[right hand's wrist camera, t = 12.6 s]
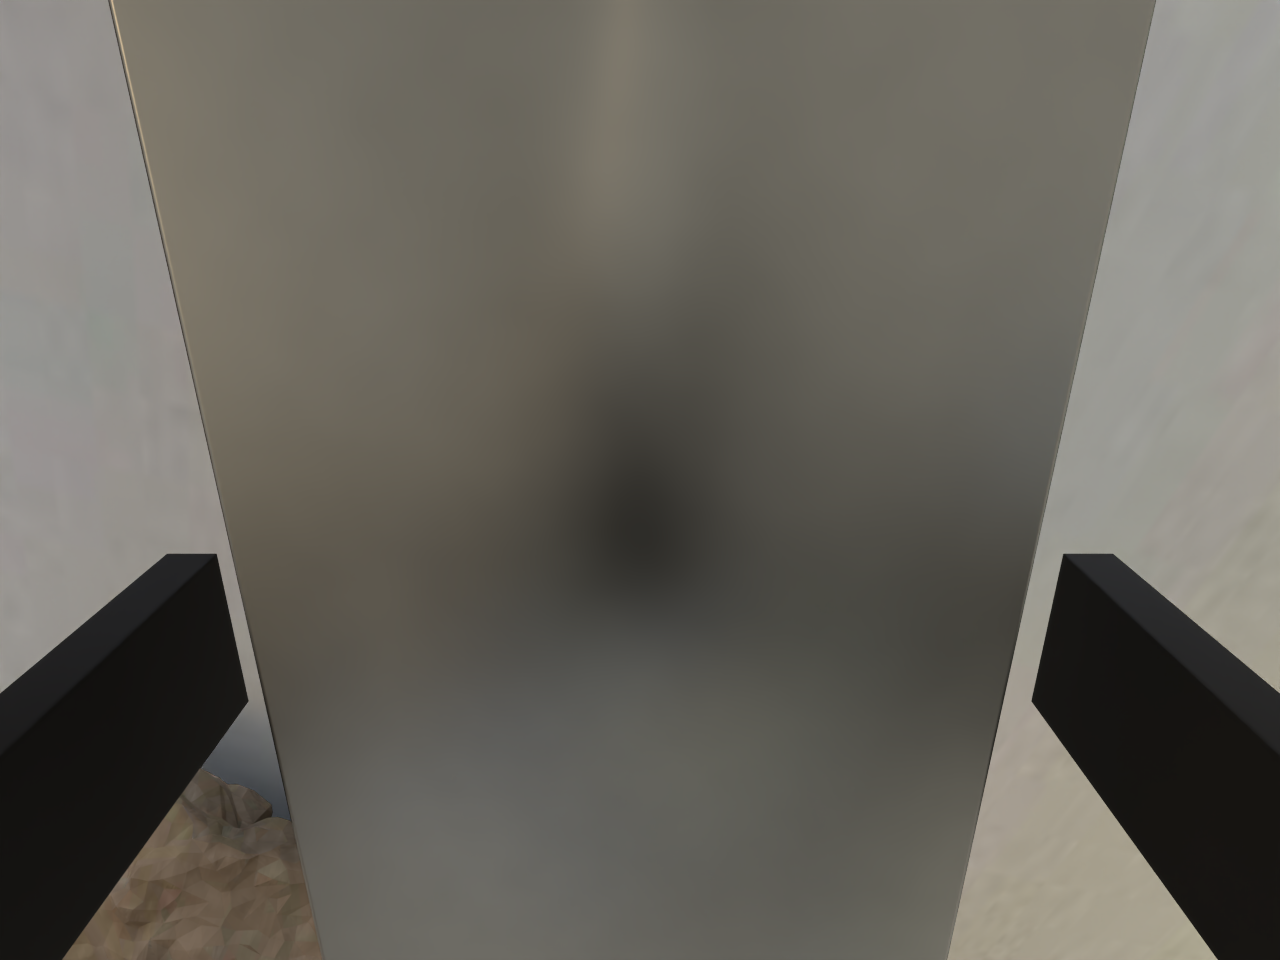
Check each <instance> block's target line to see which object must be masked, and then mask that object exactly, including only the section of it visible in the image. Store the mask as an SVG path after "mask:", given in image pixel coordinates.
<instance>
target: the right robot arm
mask: <svg viewBox="0 0 1280 960" xmlns="http://www.w3.org/2000/svg"><path fill="white" fill-rule="evenodd" d="M247 703H248V697H247V692H246V687H245V683H244V678H243V673H242V669H241V664H240V660H239V655H238V650H237V646H236V641H235V637H234V632H233V627H232V623H231V618H230V614H229V609H228V604H227V600H226V595H225V591H224V586H223V581H222V577H221V572H220V567H219V563H218V558H217V554H166V555H165V556H164V557H163V558H162V559H160V560H159V561H158V562H157V563H156V564H154V565H153V566H152V567H151V568H150V569H148V570H147V571H146V572H145V573H144V574H142V575H141V576H140V577H139V578H138V579H137V580H135V581H134V582H133V583H132V584H131V585H129V586H128V587H127V588H126V589H125V590H123V591H122V592H121V593H120V594H119V595H117V596H116V597H115V598H114V599H113V600H111V601H110V602H109V603H108V604H107V605H105V606H104V607H103V608H102V609H101V610H99V611H98V612H97V613H96V614H95V615H94V616H92V617H91V618H90V619H89V620H88V621H86V622H85V623H84V624H83V625H82V626H80V627H79V628H78V629H77V630H76V631H74V632H73V633H72V634H71V635H70V636H68V637H67V638H66V639H65V640H64V641H62V642H61V643H60V644H59V645H58V646H56V647H55V648H54V649H53V650H52V651H51V652H49V653H48V654H47V655H46V656H45V657H43V658H42V659H41V660H40V661H39V662H37V663H36V664H35V665H34V666H33V667H31V668H30V669H29V670H28V671H27V672H25V673H24V674H23V675H22V676H21V677H19V678H18V679H17V680H16V681H15V682H13V683H12V684H11V685H10V686H9V687H8V688H6V689H5V690H4V691H3V692H2V693H0V960H62V959H63V958H64V956H65V955H66V954H67V952H68V951H69V949H70V948H71V947H72V945H73V944H74V943H75V941H76V940H77V938H78V937H79V936H80V934H81V933H82V931H83V930H84V929H85V927H86V926H87V924H88V923H89V922H90V920H91V919H92V918H93V916H94V915H95V913H96V912H97V911H98V909H99V908H100V906H101V905H102V904H103V902H104V901H105V900H106V898H107V897H108V895H109V894H110V893H111V891H112V890H113V888H114V887H115V886H116V884H117V883H118V881H119V880H120V879H121V877H122V876H123V875H124V873H125V872H126V870H127V869H128V868H129V866H130V865H131V863H132V862H133V861H134V859H135V858H136V857H137V855H138V854H139V852H140V851H141V850H142V848H143V847H144V845H145V844H146V843H147V841H148V840H149V838H150V837H151V836H152V834H153V833H154V832H155V830H156V829H157V827H158V826H159V825H160V823H161V822H162V820H163V819H164V818H165V816H166V815H167V813H168V812H169V811H170V809H171V808H172V807H173V805H174V804H175V802H176V801H177V800H178V798H179V797H180V795H181V794H182V793H183V791H184V790H185V789H186V787H187V786H188V784H189V783H190V782H191V780H192V779H193V777H194V776H195V775H196V773H197V772H198V770H199V769H200V768H201V766H202V765H203V764H204V762H205V761H206V759H207V758H208V757H209V755H210V754H211V752H212V751H213V750H214V748H215V747H216V746H217V744H218V743H219V741H220V740H221V739H222V737H223V736H224V734H225V733H226V732H227V730H228V729H229V727H230V726H231V725H232V723H233V722H234V721H235V719H236V718H237V716H238V715H239V714H240V712H241V711H242V709H243V708H244V707H245V705H246V704H247ZM1032 703H1033V704H1034V705H1035V707H1036V708H1037V709H1038V711H1039V712H1040V714H1041V715H1042V716H1043V718H1044V719H1045V721H1046V722H1047V723H1048V725H1049V726H1050V727H1051V729H1052V730H1053V732H1054V733H1055V734H1056V736H1057V737H1058V739H1059V740H1060V741H1061V743H1062V744H1063V746H1064V747H1065V748H1066V750H1067V751H1068V752H1069V754H1070V755H1071V757H1072V758H1073V759H1074V761H1075V762H1076V764H1077V765H1078V766H1079V768H1080V769H1081V770H1082V772H1083V773H1084V775H1085V776H1086V777H1087V779H1088V780H1089V782H1090V783H1091V784H1092V786H1093V787H1094V789H1095V790H1096V791H1097V793H1098V794H1099V795H1100V797H1101V798H1102V800H1103V801H1104V802H1105V804H1106V805H1107V807H1108V808H1109V809H1110V811H1111V812H1112V813H1113V815H1114V816H1115V818H1116V819H1117V820H1118V822H1119V823H1120V825H1121V826H1122V827H1123V829H1124V830H1125V832H1126V833H1127V834H1128V836H1129V837H1130V838H1131V840H1132V841H1133V843H1134V844H1135V845H1136V847H1137V848H1138V850H1139V851H1140V852H1141V854H1142V855H1143V857H1144V858H1145V859H1146V861H1147V862H1148V863H1149V865H1150V866H1151V868H1152V869H1153V870H1154V872H1155V873H1156V875H1157V876H1158V877H1159V879H1160V880H1161V881H1162V883H1163V884H1164V886H1165V887H1166V888H1167V890H1168V891H1169V893H1170V894H1171V895H1172V897H1173V898H1174V900H1175V901H1176V902H1177V904H1178V905H1179V906H1180V908H1181V909H1182V911H1183V912H1184V913H1185V915H1186V916H1187V918H1188V919H1189V920H1190V922H1191V923H1192V924H1193V926H1194V927H1195V929H1196V930H1197V931H1198V933H1199V934H1200V936H1201V937H1202V938H1203V940H1204V941H1205V943H1206V944H1207V945H1208V947H1209V948H1210V949H1211V951H1212V952H1213V954H1214V955H1215V956H1216V958H1217V959H1218V960H1280V693H1278V692H1277V691H1276V690H1275V689H1274V688H1272V687H1271V686H1270V685H1269V684H1268V683H1267V682H1265V681H1264V680H1263V679H1262V678H1261V677H1259V676H1258V675H1257V674H1256V673H1255V672H1253V671H1252V670H1251V669H1250V668H1249V667H1247V666H1246V665H1245V664H1244V663H1243V662H1241V661H1240V660H1239V659H1238V658H1237V657H1235V656H1234V655H1233V654H1232V653H1231V652H1229V651H1228V650H1227V649H1226V648H1225V647H1224V646H1222V645H1221V644H1220V643H1219V642H1218V641H1216V640H1215V639H1214V638H1213V637H1212V636H1210V635H1209V634H1208V633H1207V632H1206V631H1204V630H1203V629H1202V628H1201V627H1200V626H1198V625H1197V624H1196V623H1195V622H1194V621H1192V620H1191V619H1190V618H1189V617H1188V616H1186V615H1185V614H1184V613H1183V612H1182V611H1181V610H1179V609H1178V608H1177V607H1176V606H1175V605H1173V604H1172V603H1171V602H1170V601H1169V600H1167V599H1166V598H1165V597H1164V596H1163V595H1161V594H1160V593H1159V592H1158V591H1157V590H1155V589H1154V588H1153V587H1152V586H1151V585H1149V584H1148V583H1147V582H1146V581H1145V580H1143V579H1142V578H1141V577H1140V576H1139V575H1138V574H1136V573H1135V572H1134V571H1133V570H1132V569H1130V568H1129V567H1128V566H1127V565H1126V564H1124V563H1123V562H1122V561H1121V560H1120V559H1118V558H1117V557H1116V556H1115V555H1114V554H1063V558H1062V563H1061V567H1060V572H1059V577H1058V581H1057V586H1056V591H1055V595H1054V600H1053V604H1052V609H1051V614H1050V618H1049V623H1048V627H1047V632H1046V637H1045V641H1044V646H1043V650H1042V655H1041V660H1040V664H1039V669H1038V673H1037V678H1036V683H1035V687H1034V692H1033V697H1032Z"/></svg>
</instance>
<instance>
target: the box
mask: <svg viewBox="0 0 1280 960" xmlns="http://www.w3.org/2000/svg"><path fill="white" fill-rule="evenodd" d="M108 1H109V6H110V10H111V15H112V19H113V24H114V28H115V33H116V37H117V42H118V46H119V51H120V55H121V60H122V64H123V69H124V73H125V78H126V82H127V87H128V91H129V95H130V100H131V104H132V109H133V113H134V118H135V122H136V127H137V131H138V136H139V140H140V145H141V149H142V154H143V158H144V163H145V167H146V172H147V176H148V181H149V185H150V190H151V194H152V199H153V203H154V208H155V212H156V217H157V221H158V225H159V230H160V234H161V239H162V243H163V248H164V252H165V257H166V261H167V266H168V270H169V275H170V279H171V284H172V288H173V293H174V297H175V302H176V306H177V311H178V315H179V320H180V324H181V329H182V333H183V338H184V342H185V347H186V351H187V355H188V360H189V364H190V369H191V373H192V378H193V382H194V387H195V391H196V396H197V400H198V405H199V409H200V414H201V418H202V423H203V427H204V432H205V436H206V441H207V445H208V450H209V454H210V459H211V463H212V468H213V472H214V477H215V481H216V485H217V490H218V494H219V499H220V503H221V508H222V512H223V517H224V521H225V526H226V530H227V535H228V539H229V544H230V548H231V553H232V557H233V562H234V566H235V571H236V575H237V580H238V584H239V589H240V593H241V598H242V602H243V607H244V611H245V615H246V620H247V624H248V629H249V633H250V638H251V642H252V647H253V651H254V656H255V660H256V665H257V669H258V674H259V678H260V683H261V687H262V692H263V696H264V701H265V705H266V710H267V714H268V719H269V723H270V728H271V732H272V737H273V741H274V745H275V750H276V754H277V759H278V763H279V768H280V772H281V777H282V781H283V786H284V790H285V795H286V799H287V804H288V808H289V813H290V817H291V822H292V826H293V831H294V835H295V840H296V844H297V849H298V853H299V858H300V862H301V867H302V871H303V875H304V880H305V884H306V889H307V893H308V898H309V902H310V907H311V911H312V916H313V920H314V925H315V929H316V934H317V938H318V943H319V947H320V952H321V956H322V960H947V958H948V953H949V948H950V944H951V939H952V935H953V930H954V925H955V921H956V916H957V912H958V907H959V903H960V898H961V893H962V889H963V884H964V880H965V875H966V870H967V866H968V861H969V857H970V852H971V847H972V843H973V838H974V834H975V829H976V824H977V820H978V815H979V811H980V806H981V801H982V797H983V792H984V788H985V783H986V779H987V774H988V769H989V765H990V760H991V756H992V751H993V746H994V742H995V737H996V733H997V728H998V723H999V719H1000V714H1001V710H1002V705H1003V700H1004V696H1005V691H1006V687H1007V682H1008V678H1009V673H1010V668H1011V664H1012V659H1013V655H1014V650H1015V645H1016V641H1017V636H1018V632H1019V627H1020V622H1021V618H1022V613H1023V609H1024V604H1025V599H1026V595H1027V590H1028V586H1029V581H1030V576H1031V572H1032V567H1033V563H1034V558H1035V554H1036V549H1037V544H1038V540H1039V535H1040V531H1041V526H1042V521H1043V517H1044V512H1045V508H1046V503H1047V498H1048V494H1049V489H1050V485H1051V480H1052V475H1053V471H1054V466H1055V462H1056V457H1057V452H1058V448H1059V443H1060V439H1061V434H1062V430H1063V425H1064V420H1065V416H1066V411H1067V407H1068V402H1069V397H1070V393H1071V388H1072V384H1073V379H1074V374H1075V370H1076V365H1077V361H1078V356H1079V351H1080V347H1081V342H1082V338H1083V333H1084V329H1085V324H1086V319H1087V315H1088V310H1089V306H1090V301H1091V296H1092V292H1093V287H1094V283H1095V278H1096V273H1097V269H1098V264H1099V260H1100V255H1101V250H1102V246H1103V241H1104V237H1105V232H1106V227H1107V223H1108V218H1109V214H1110V209H1111V205H1112V200H1113V195H1114V191H1115V186H1116V182H1117V177H1118V172H1119V168H1120V163H1121V159H1122V154H1123V149H1124V145H1125V140H1126V136H1127V131H1128V126H1129V122H1130V117H1131V113H1132V108H1133V103H1134V99H1135V94H1136V90H1137V85H1138V81H1139V76H1140V71H1141V67H1142V62H1143V58H1144V53H1145V48H1146V44H1147V39H1148V35H1149V30H1150V25H1151V21H1152V16H1153V12H1154V7H1155V2H1156V0H108Z"/></svg>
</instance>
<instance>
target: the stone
mask: <svg viewBox="0 0 1280 960" xmlns="http://www.w3.org/2000/svg"><path fill="white" fill-rule="evenodd" d="M271 816H272V806H271V804H270V803H269V802H267V801H266V800H265V799H264V798H262V797H261V796H260V795H259V794H258V793H256V792H255V791H254V790H252V789H249V788H246V787H244V786H241V785H238V784H227V783H225V782H224V781H222V780H221V779H220V778H219V777H217V776H215V775H213V774H211V773H209V772H207V771H204V770H203V769H199V770H198V772H197V773H196V775H195V776H194V777H193V779H192V780H191V782H190V783H189V784H188V786H187V787H186V789H185V790H184V791H183V793H182V794H181V795H180V797H179V798H178V800H177V801H176V802H175V804H174V805H173V807H172V808H171V809H170V811H169V812H168V813H167V815H166V816H165V818H164V819H163V820H162V822H161V823H160V825H159V826H158V827H157V829H156V830H155V832H154V833H153V834H152V836H151V837H150V838H149V840H148V841H147V843H146V844H145V845H144V847H143V848H142V850H141V851H140V852H139V854H138V855H137V857H136V858H135V859H134V861H133V862H132V863H131V865H130V866H129V868H128V869H127V870H126V872H125V873H124V875H123V876H122V877H121V879H120V880H119V881H118V883H117V884H116V886H115V887H114V888H113V890H112V891H111V893H110V894H109V895H108V897H107V898H106V900H105V901H104V902H103V904H102V905H101V906H100V908H99V909H98V911H97V912H96V913H95V915H94V916H93V918H92V919H91V920H90V922H89V923H88V924H87V926H86V927H85V929H84V930H83V931H82V933H81V934H80V936H79V937H78V938H77V940H76V941H75V943H74V944H73V945H72V947H71V948H70V949H69V951H68V952H67V954H66V955H65V956H64V958H63V959H62V960H322V956H321V952H320V947H319V943H318V938H317V934H316V929H315V925H314V920H313V916H312V911H311V907H310V902H309V898H308V893H307V889H306V884H305V880H304V875H303V871H302V867H301V862H300V858H299V853H298V849H297V844H296V840H295V835H294V831H293V826H292V822H291V821H289V820H286V819H283V818H279V817H271Z"/></svg>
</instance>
